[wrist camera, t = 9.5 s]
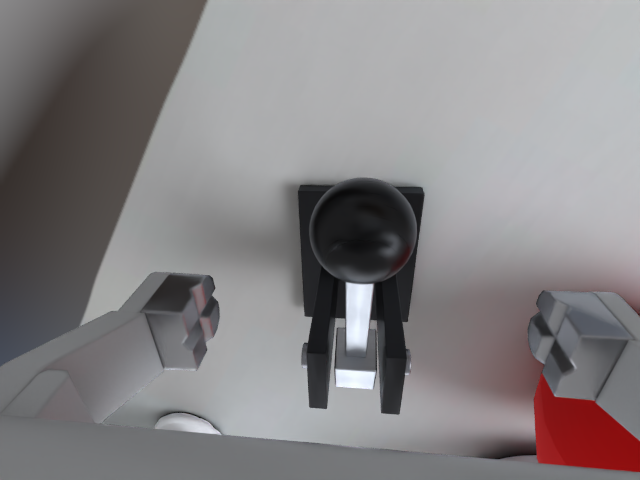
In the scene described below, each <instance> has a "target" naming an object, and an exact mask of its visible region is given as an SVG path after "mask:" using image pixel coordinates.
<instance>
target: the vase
mask: <svg viewBox="0 0 640 480" xmlns="http://www.w3.org/2000/svg"><path fill="white" fill-rule="evenodd" d="M595 402H596V401H594V400H584V399H574V398H564V397H554V395H553V393H552V391H551V389H550V387H549V385H548V383H547V381H546V379H545V377H544V375H543V373H542V374H541V376H540V380H539V383H538V386H537V390H536V393H535V396H534V414H535V432H536V451H537V460H538V463H543V464H554V465H565V466H576V467H588V468H599V469H610V470H621V471H632V472H640V441H639V440H638V439H637V438H636V437H635V436H633V435H632V434H631V433H630V432H629V431H628V430H627V429H625V428H624V427H623V426H622V425H621V424H620V423H618V422H617V421H616V420H615V419H614V418H613V417H612V416H610V415H609V414H608V413H607V412H606V411H605V410H603V409H602V408H601V407H600V406H599V405H598V404H597V403H595Z"/></svg>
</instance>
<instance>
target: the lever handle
mask: <svg viewBox="0 0 640 480" xmlns="http://www.w3.org/2000/svg"><path fill="white" fill-rule="evenodd" d="M309 236H310V242H311V246H312V250H313V252H314V254H315V256H316V258H317V260H318V261H319V263H320V264H321V265H322V266H323V267H324V269H326V270H327V271H328V272H329V273H330V274H331V275H333V276H334V277H336V278H338V279H340V280H342V281H345V282H346V318H345V328H339V327H338V328H337V335H336V351H335V367H334V370H335V385H336V386H337V387H349V388H363V389H374V384H375V378H376V373H377V342H376V330H375V329H369V327H370V318H371V309H372V300H373V290H374V283H378V282H381V281H384V280H386V279H388V278H390V277H392V276H393V275H395V274H396V273H397V272H398V271H400V270H401V269H402V268H403V266H404V265H405V264H406V263H407V262H408V260H409V258H410V256H411V255H412V253H413V250H414V247H415V244H416V238H417V223H416V218H415V215H414V212H413V210H412V208H411V206H410V204H409V202H408V201H407V199H406V198H405V197H404V196H403V195H402V194H401V193H400V192H399V191H398V190H397V189H396V188H394V187H393V186H391V185H389V184H388V183H386V182H383V181H381V180H377V179H373V178H354V179H349V180H346V181H343V182H341V183H339V184H337V185H335V186H334V187H332V188H331V189H330V190H328V191H327V192H326V193H325V194H324V195H323V196H322V197H321V199H320V200H319V202H318V203H317V205H316V206H315V209H314V211H313V213H312V216H311V220H310V227H309Z"/></svg>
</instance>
